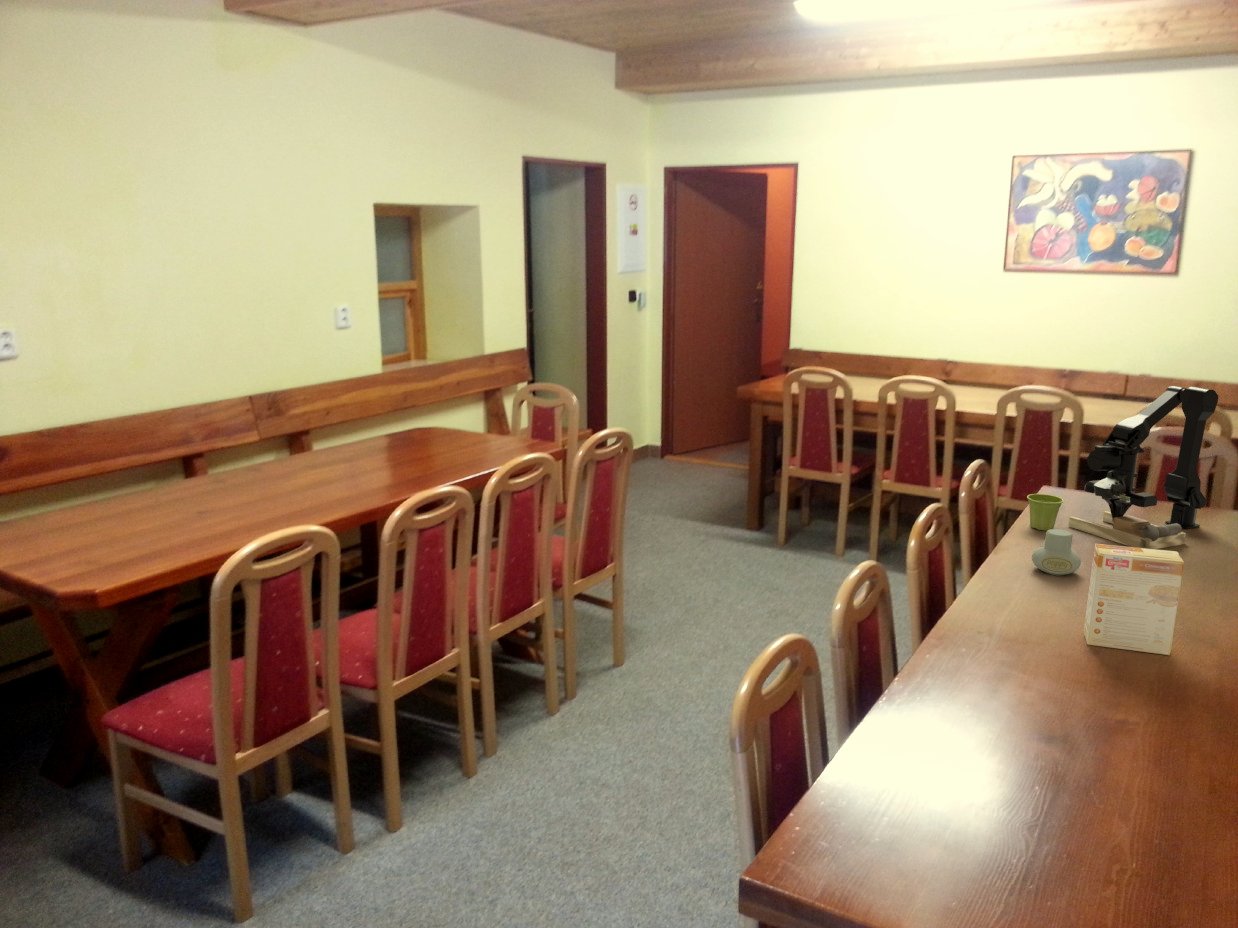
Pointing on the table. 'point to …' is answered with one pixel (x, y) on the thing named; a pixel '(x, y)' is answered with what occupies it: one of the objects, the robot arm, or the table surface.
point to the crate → (1129, 524)
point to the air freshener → (1056, 554)
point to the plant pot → (1043, 510)
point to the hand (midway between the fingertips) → (1115, 523)
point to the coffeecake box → (1133, 598)
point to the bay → (1151, 533)
